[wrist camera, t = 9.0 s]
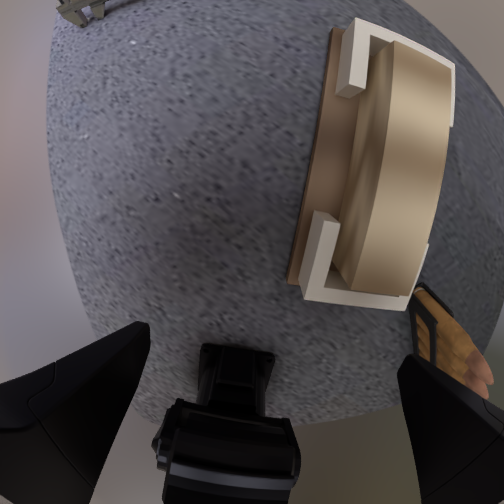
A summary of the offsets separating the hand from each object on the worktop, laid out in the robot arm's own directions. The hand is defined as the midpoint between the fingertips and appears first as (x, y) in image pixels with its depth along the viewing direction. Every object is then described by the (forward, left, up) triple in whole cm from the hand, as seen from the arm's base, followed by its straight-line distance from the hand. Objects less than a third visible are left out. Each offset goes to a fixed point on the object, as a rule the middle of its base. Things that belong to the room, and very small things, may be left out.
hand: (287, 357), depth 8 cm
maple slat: (+7, -6, -11) cm, 14 cm away
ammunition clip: (-6, -16, -12) cm, 21 cm away
